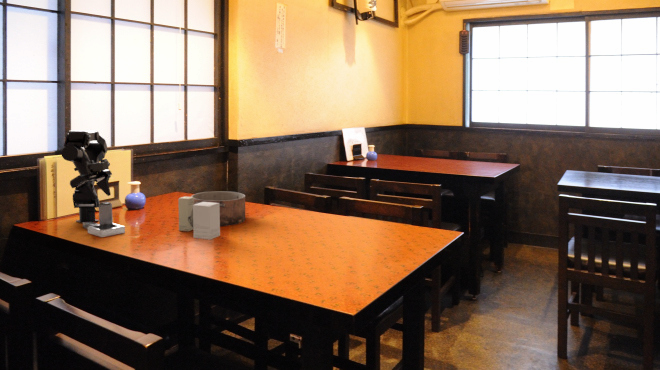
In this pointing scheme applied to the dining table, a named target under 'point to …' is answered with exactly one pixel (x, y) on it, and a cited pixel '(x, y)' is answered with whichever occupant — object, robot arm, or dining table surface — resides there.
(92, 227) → the square frame with handle
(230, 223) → the cooking pot
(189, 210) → the box
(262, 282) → the dining table surface
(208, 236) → the supplement box
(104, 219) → the dark grey metal cylinder
